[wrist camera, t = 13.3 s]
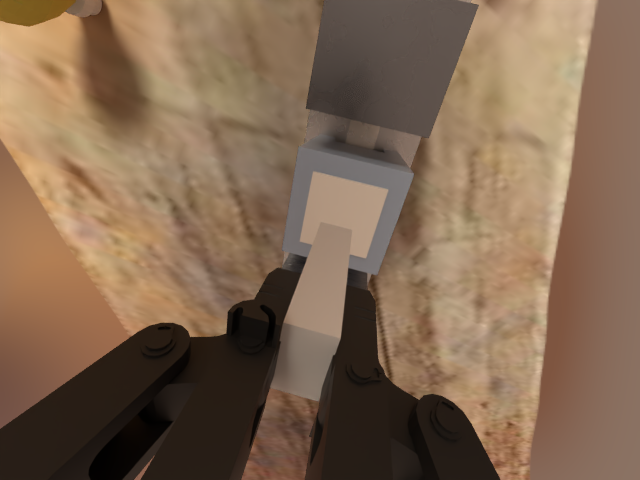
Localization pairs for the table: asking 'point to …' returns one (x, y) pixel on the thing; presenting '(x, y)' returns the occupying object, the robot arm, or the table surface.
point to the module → (346, 198)
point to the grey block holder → (382, 77)
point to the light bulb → (45, 10)
